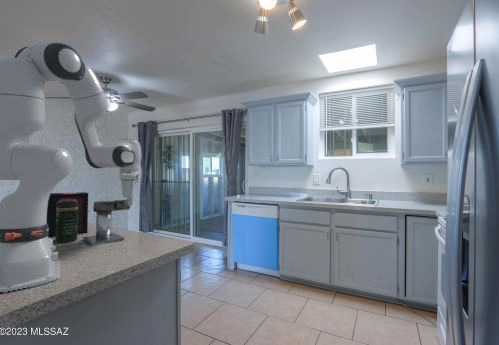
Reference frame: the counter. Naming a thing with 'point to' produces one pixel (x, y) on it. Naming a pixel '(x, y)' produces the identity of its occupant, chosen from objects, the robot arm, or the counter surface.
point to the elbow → (110, 206)
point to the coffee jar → (66, 220)
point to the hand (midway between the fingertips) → (129, 205)
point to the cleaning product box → (82, 211)
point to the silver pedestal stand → (103, 230)
